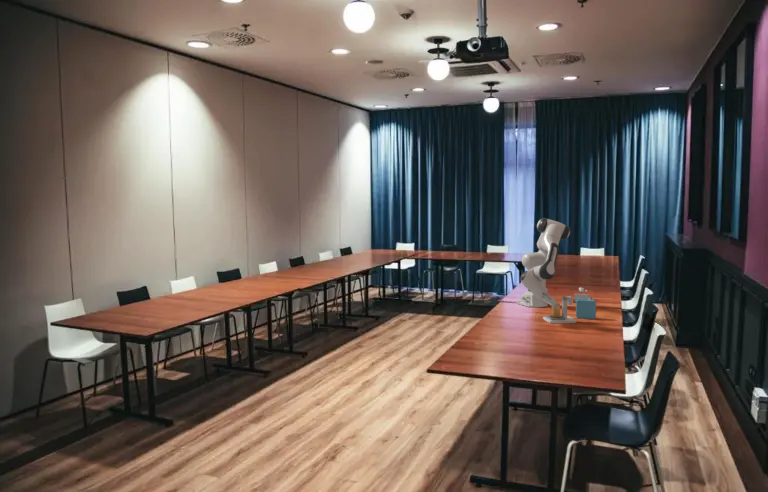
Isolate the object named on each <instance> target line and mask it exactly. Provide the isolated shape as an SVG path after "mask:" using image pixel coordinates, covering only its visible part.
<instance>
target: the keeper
mask: <svg viewBox="0 0 768 492" xmlns="http://www.w3.org/2000/svg"><path fill="white" fill-rule="evenodd" d="M572 305H573V297H572V295H569V296H561V314H560V318H551V314H549V315H545V316H542V319H543V320H544V321H545V322H547V323H548V322H549V324H550V323H551V324H575V323H577V320H576V319H575V318H573V317H571V316H570V315H568V306H572Z"/></svg>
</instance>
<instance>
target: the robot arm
mask: <svg viewBox="0 0 768 492" xmlns="http://www.w3.org/2000/svg"><path fill="white" fill-rule="evenodd" d="M536 230H537V232H539V233H540V236H539V238H538V240H537V242H536V246H537V249H538V251H537V252H536V251H535V252H528V253H526V254H523V255H522V257H521V264H522V266H523V267H525V269H526V270H524V271H523V272H522V274H521V275H520V278H519V279H520V282H521V283H522V285H523V286H524V288H526V291H525V292H523V294H522V295H520V300H519V301H517V302H516V304H517V305H521V306H524V307H528V308H545V307H548V306H549V305H550V306H551V307H552V306H554V307H555V308H556V309H558V308H559V306H558V305H557V303H558V301H557V300H556V299H555V298H554V297H553V296H552V295H550V294H549V292H548V290H549V289H548V288H547V286H546V283H547V280H551V279H553V278H554V277H555V275H556V264H557V261H558V260H557V259H558V255H559V244H560V241H565V240H567V238H569V236H570V234H571V228H570V226H569V225H566V224H564V223H562V222H560V221H558V220H557V221H556V220H552V219H550V218H546V217H542V218H540V219H539V220H538V222H537V224H536Z"/></svg>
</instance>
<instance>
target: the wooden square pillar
mask: <svg viewBox="0 0 768 492" xmlns="http://www.w3.org/2000/svg"><path fill="white" fill-rule="evenodd" d="M557 305H558V306H559V308H558V309H556V308H555V307H554V306H551V314H550V315H551V318H560V315H561V303H559V302H557Z"/></svg>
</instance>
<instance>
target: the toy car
mask: <svg viewBox="0 0 768 492" xmlns="http://www.w3.org/2000/svg"><path fill="white" fill-rule="evenodd" d="M578 291H579V292H580V293H574V298H572V304H576V300H577V299H589V300H593V297H592V296H590V294H587V292H588V290H587V289H585V288H584V287H583V286H582V287H579V288H578ZM582 292H584V293H582Z"/></svg>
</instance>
